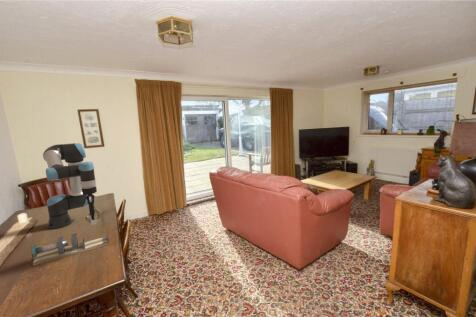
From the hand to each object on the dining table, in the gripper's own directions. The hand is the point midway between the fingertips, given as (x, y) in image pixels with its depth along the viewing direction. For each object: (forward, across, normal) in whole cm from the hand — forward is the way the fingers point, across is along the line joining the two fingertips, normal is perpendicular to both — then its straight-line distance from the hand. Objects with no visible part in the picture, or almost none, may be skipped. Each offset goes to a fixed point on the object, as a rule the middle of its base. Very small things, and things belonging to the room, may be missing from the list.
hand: (93, 222), depth 138 cm
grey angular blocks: (+15, 0, -6) cm, 16 cm away
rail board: (+15, 0, -11) cm, 19 cm away
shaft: (+12, 0, -22) cm, 25 cm away
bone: (+1, 0, 0) cm, 1 cm away
